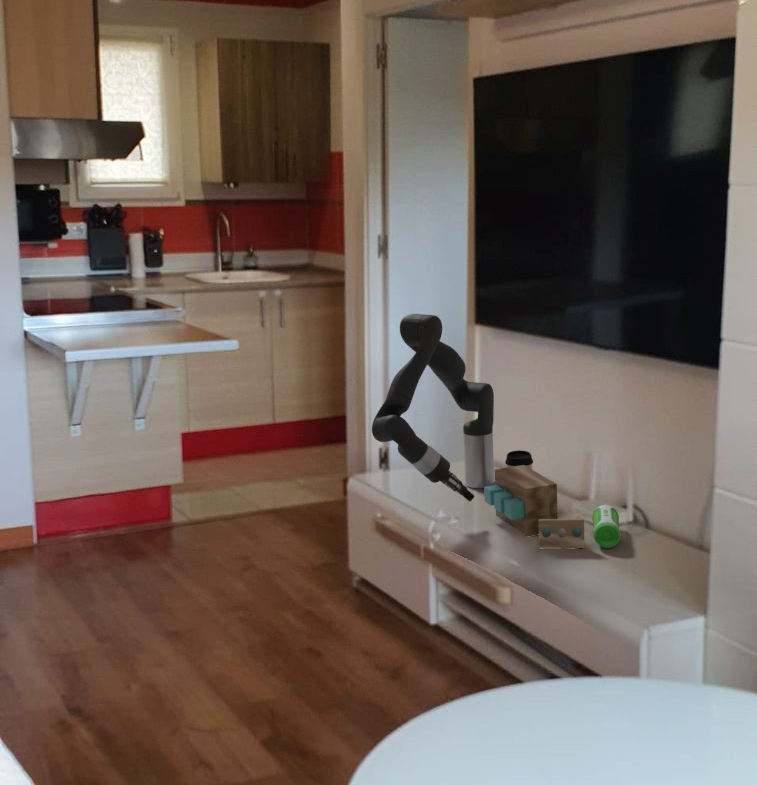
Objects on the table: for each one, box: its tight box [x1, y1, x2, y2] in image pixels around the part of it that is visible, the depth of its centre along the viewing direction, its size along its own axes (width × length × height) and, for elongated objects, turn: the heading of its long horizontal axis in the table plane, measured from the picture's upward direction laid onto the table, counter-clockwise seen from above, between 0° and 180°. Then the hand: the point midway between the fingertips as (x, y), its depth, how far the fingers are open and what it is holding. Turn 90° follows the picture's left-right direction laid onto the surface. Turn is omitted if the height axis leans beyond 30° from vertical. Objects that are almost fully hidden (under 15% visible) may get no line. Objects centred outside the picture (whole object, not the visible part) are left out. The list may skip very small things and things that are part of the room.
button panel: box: [494, 465, 559, 537], centre depth 333 cm, size 10×21×14 cm, turn 18°
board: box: [538, 518, 586, 550], centre depth 315 cm, size 5×12×8 cm, turn 83°
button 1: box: [483, 484, 504, 506], centre depth 338 cm, size 6×4×4 cm
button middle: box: [493, 491, 514, 512], centre depth 331 cm, size 6×4×4 cm
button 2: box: [504, 498, 525, 520], centre depth 325 cm, size 6×4×4 cm
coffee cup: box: [504, 449, 534, 470], centre depth 353 cm, size 8×8×15 cm
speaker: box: [591, 504, 622, 549], centre depth 319 cm, size 18×7×8 cm, turn 171°
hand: (471, 498), depth 335 cm, fingers closed
